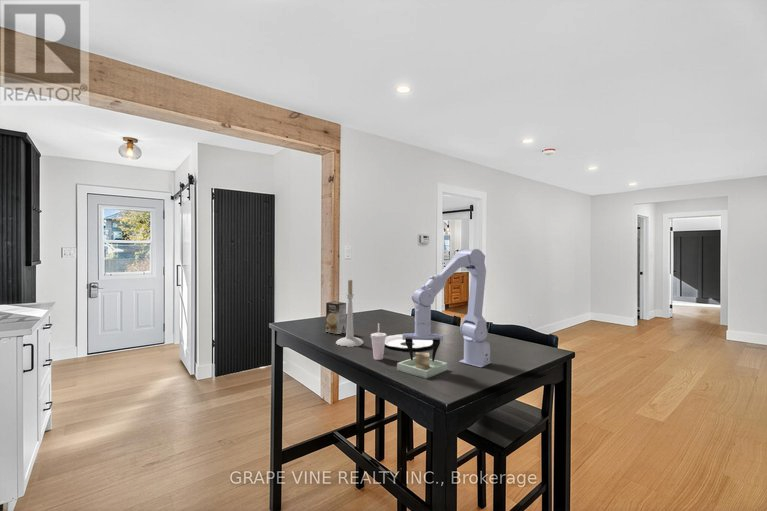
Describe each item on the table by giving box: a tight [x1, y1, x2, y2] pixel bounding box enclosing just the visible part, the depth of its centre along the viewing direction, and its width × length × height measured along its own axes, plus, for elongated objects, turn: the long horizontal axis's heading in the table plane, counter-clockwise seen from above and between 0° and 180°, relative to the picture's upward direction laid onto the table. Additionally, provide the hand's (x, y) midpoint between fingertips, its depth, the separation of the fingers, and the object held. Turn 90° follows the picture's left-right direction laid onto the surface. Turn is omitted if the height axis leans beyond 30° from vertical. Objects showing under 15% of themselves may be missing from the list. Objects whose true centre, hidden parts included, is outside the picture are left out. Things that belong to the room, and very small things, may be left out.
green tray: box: [396, 356, 449, 380], centre depth 128 cm, size 13×13×2 cm
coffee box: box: [325, 301, 347, 335], centre depth 186 cm, size 9×6×16 cm
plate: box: [385, 333, 433, 351], centre depth 165 cm, size 25×25×2 cm
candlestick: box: [335, 279, 364, 348], centre depth 165 cm, size 13×13×30 cm
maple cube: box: [414, 351, 431, 370], centre depth 128 cm, size 5×5×5 cm
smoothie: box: [370, 322, 387, 361], centre depth 142 cm, size 6×6×14 cm
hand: (422, 359), depth 128 cm, fingers open, 7 cm apart
